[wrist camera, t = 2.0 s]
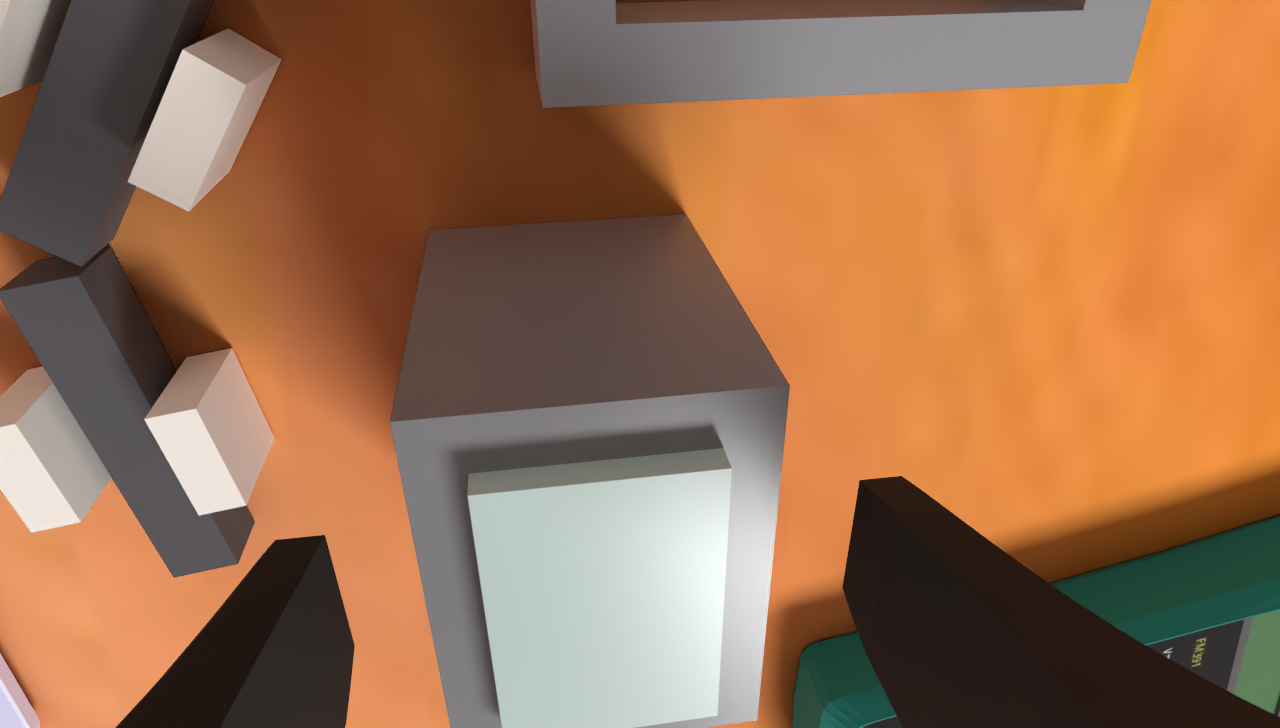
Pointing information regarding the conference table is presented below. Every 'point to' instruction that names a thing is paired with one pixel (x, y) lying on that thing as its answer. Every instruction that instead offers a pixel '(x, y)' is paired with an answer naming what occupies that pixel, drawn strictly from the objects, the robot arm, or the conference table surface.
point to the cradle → (824, 47)
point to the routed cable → (97, 286)
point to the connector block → (590, 475)
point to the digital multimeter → (1132, 602)
